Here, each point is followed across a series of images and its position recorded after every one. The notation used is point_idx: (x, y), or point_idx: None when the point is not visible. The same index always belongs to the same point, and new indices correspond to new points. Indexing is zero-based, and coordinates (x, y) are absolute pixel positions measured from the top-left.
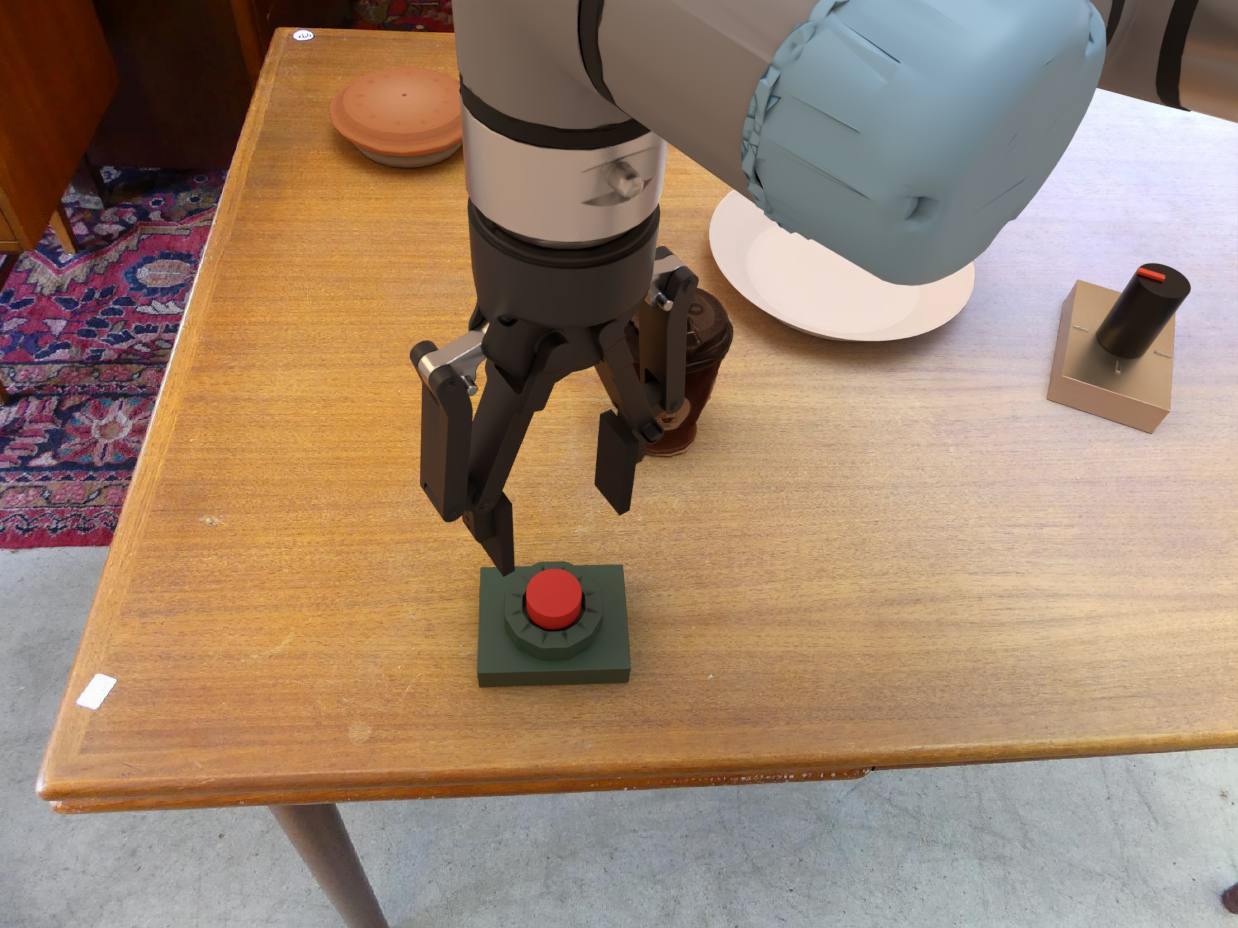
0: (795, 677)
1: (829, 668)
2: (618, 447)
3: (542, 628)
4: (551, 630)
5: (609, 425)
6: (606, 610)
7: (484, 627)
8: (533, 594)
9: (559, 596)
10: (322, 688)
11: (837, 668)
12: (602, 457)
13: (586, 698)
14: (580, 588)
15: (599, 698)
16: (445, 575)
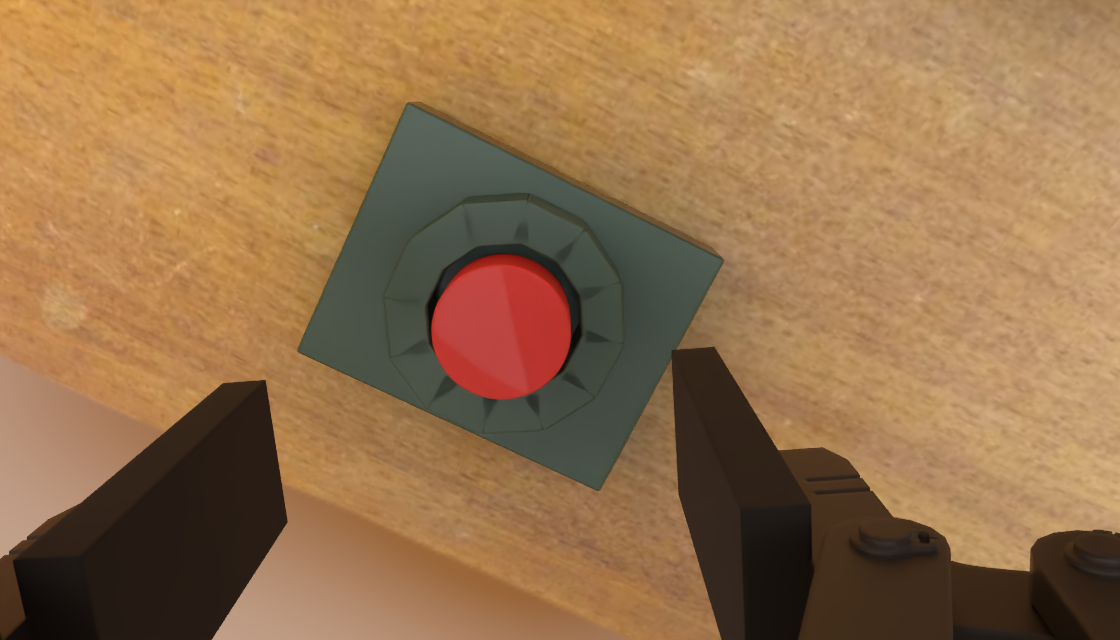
0: None
1: None
2: (732, 625)
3: None
4: None
5: (743, 587)
6: (623, 349)
7: (352, 258)
8: (451, 316)
9: (507, 349)
10: (12, 181)
11: None
12: (699, 449)
13: (504, 453)
14: (564, 354)
15: (527, 465)
16: (348, 39)
